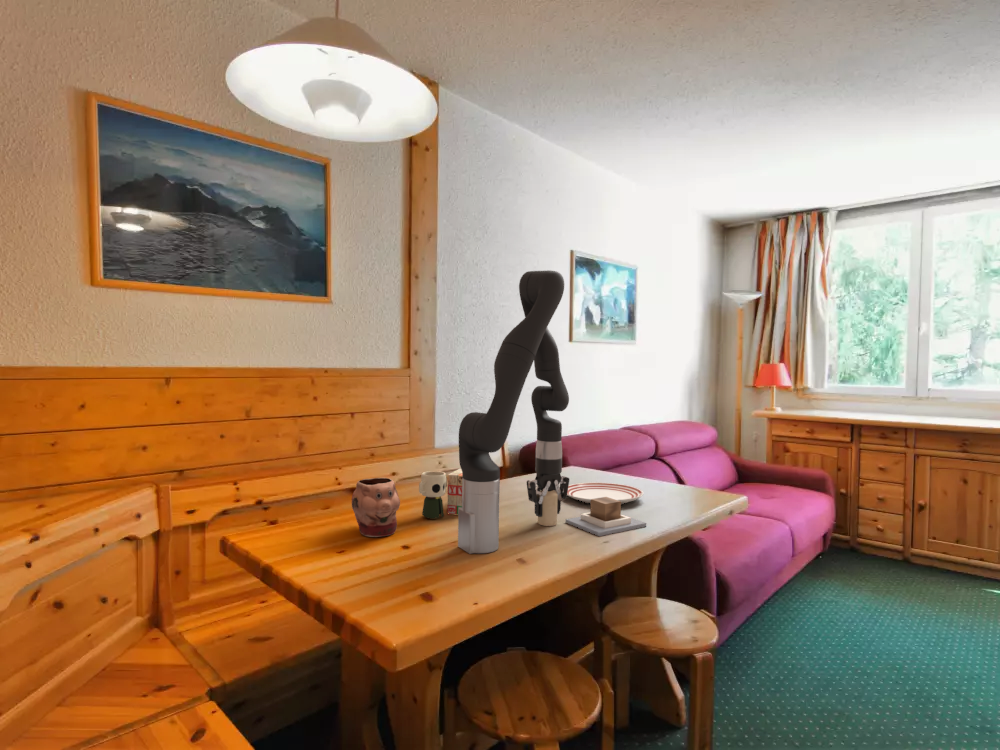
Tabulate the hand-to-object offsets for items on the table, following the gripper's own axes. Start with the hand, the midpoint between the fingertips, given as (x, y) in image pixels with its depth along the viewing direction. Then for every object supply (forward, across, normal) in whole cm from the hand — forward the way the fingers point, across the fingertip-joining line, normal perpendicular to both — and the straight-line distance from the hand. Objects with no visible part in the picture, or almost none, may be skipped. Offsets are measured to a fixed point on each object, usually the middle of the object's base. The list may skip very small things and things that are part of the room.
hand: (547, 514), depth 156 cm
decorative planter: (+3, -45, +17) cm, 48 cm away
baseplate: (+3, +14, -9) cm, 17 cm away
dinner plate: (+3, +34, +14) cm, 37 cm away
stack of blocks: (+3, -11, +27) cm, 29 cm away
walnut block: (+2, +14, -9) cm, 17 cm away
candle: (+3, 0, 0) cm, 3 cm away
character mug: (+3, -26, +21) cm, 34 cm away
